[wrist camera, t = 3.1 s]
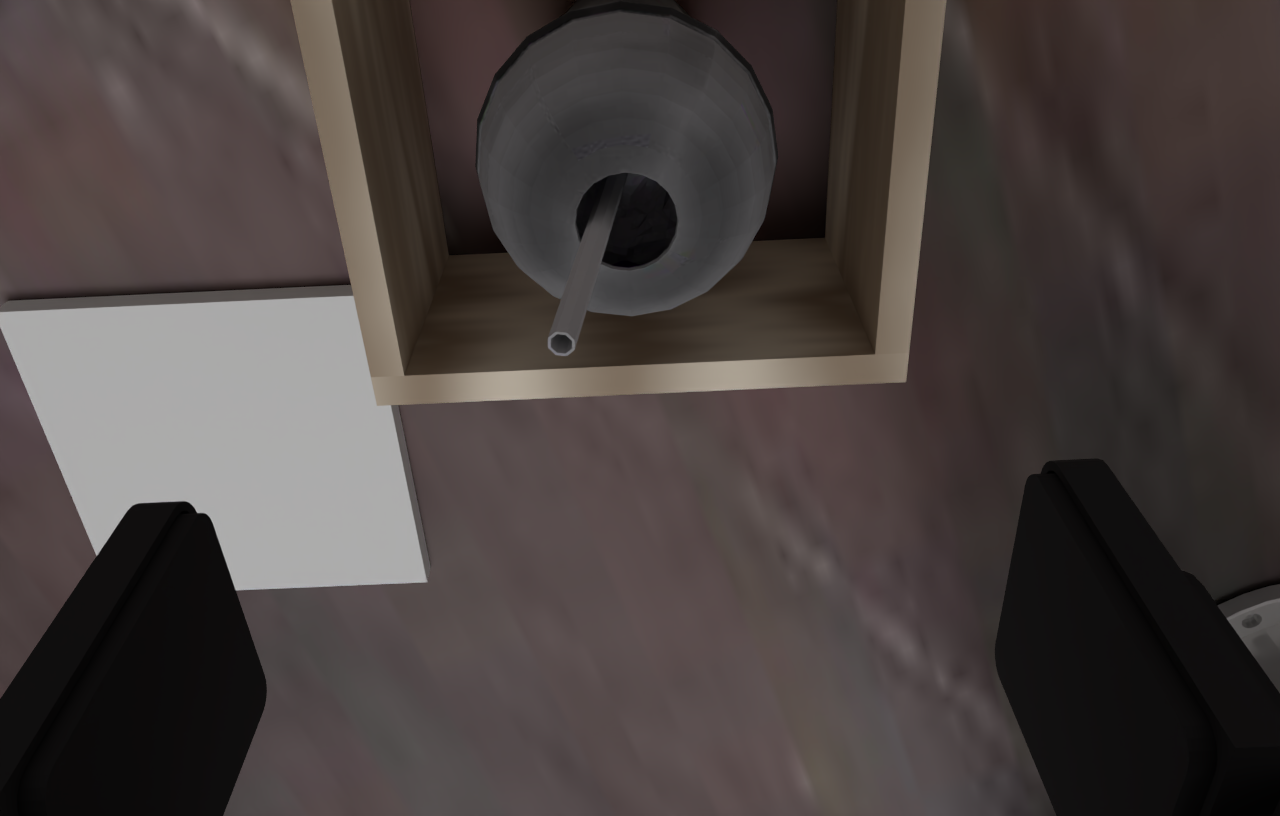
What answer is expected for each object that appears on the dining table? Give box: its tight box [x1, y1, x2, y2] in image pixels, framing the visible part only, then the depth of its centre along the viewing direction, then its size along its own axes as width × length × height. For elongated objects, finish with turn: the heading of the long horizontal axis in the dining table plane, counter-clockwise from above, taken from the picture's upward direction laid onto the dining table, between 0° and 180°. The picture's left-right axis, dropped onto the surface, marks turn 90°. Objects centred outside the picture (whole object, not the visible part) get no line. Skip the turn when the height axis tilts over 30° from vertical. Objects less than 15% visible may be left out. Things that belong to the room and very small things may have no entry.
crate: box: [290, 0, 946, 406], centre depth 30 cm, size 16×16×9 cm
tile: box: [0, 285, 431, 590], centre depth 42 cm, size 14×14×1 cm
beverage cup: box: [476, 0, 778, 356], centre depth 26 cm, size 7×7×20 cm
